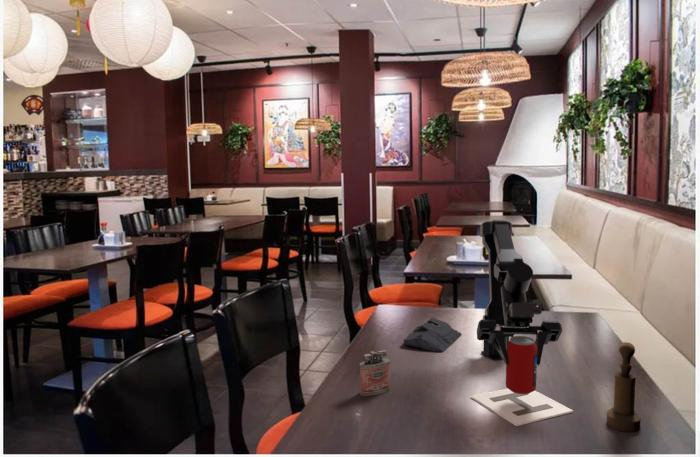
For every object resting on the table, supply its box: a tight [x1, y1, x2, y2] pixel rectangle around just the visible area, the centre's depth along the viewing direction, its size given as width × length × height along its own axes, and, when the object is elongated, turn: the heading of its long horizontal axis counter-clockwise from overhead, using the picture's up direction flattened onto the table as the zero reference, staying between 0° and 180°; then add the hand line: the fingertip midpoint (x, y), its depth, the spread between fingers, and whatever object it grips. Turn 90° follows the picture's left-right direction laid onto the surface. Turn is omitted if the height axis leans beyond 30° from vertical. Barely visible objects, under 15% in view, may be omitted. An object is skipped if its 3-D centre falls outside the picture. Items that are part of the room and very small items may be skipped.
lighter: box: [359, 349, 391, 397], centre depth 139 cm, size 8×3×10 cm, turn 118°
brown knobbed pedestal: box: [606, 341, 642, 433], centre depth 121 cm, size 7×6×18 cm
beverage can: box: [505, 335, 538, 394], centre depth 131 cm, size 7×7×12 cm
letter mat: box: [470, 387, 574, 427], centre depth 132 cm, size 16×16×1 cm
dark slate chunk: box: [402, 317, 463, 353], centre depth 179 cm, size 15×22×5 cm
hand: (522, 364), depth 129 cm, fingers closed on beverage can, 7 cm apart
